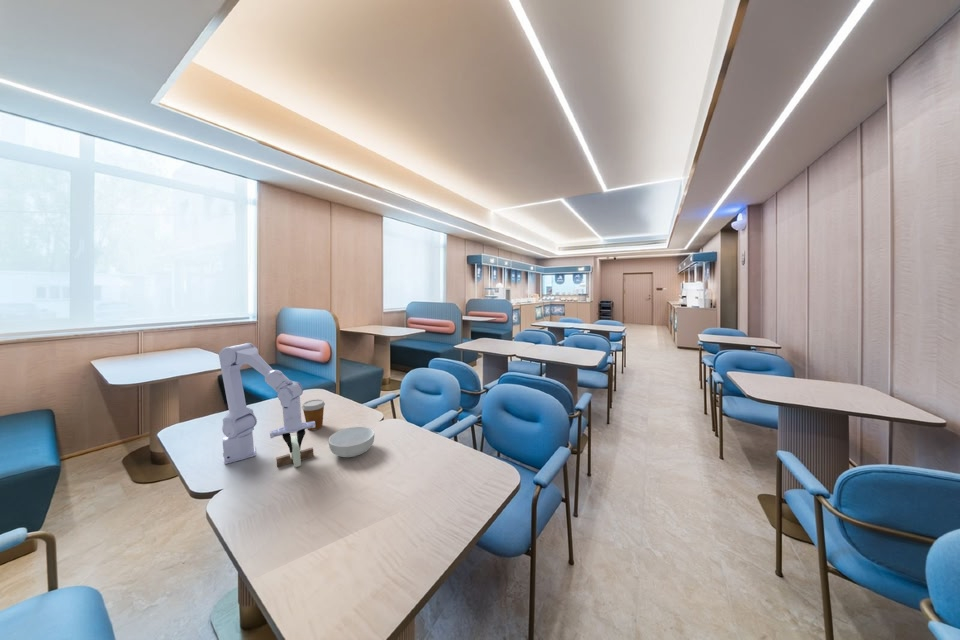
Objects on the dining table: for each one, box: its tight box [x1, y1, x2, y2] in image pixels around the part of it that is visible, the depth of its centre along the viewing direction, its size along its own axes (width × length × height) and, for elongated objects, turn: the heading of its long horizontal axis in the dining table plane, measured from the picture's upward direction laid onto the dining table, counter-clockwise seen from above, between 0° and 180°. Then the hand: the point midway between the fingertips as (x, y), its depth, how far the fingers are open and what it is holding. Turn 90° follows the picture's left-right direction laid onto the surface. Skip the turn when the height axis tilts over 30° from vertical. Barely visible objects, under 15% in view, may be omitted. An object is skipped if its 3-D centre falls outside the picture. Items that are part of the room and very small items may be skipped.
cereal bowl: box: [328, 426, 375, 458], centre depth 124 cm, size 17×17×7 cm
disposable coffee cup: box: [301, 398, 326, 431], centre depth 146 cm, size 10×10×12 cm
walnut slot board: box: [275, 447, 315, 468], centre depth 119 cm, size 12×2×3 cm, turn 127°
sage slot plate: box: [290, 434, 302, 468], centre depth 119 cm, size 12×2×7 cm, turn 37°
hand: (294, 450), depth 119 cm, fingers closed on sage slot plate, 2 cm apart
